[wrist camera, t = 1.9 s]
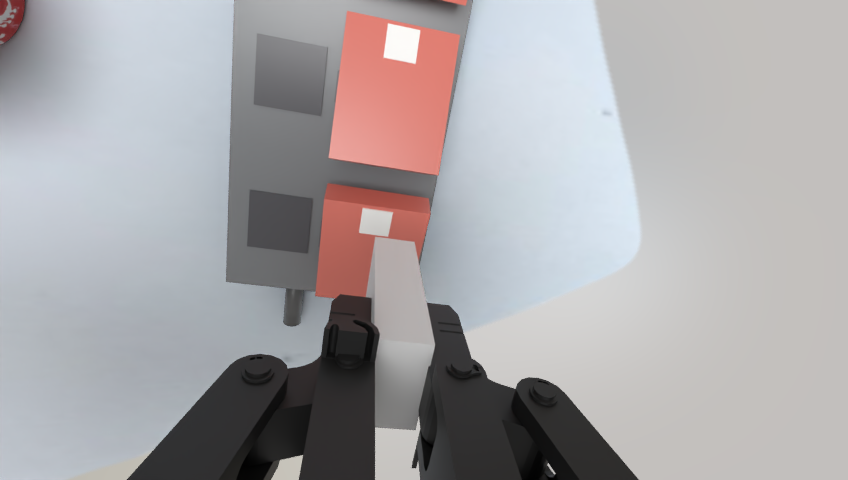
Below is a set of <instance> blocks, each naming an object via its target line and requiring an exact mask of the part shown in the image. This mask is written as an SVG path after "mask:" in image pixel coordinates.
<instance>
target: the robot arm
mask: <svg viewBox="0 0 848 480" xmlns="http://www.w3.org/2000/svg"><path fill="white" fill-rule="evenodd" d="M418 417H419V419H420V428H421V429H420V433H419V437H418V441H417V445H416V450H415V454H414V458H413V464H412V468H416V466H417V462H418V461H419V471H420V480H638V479H637V477H636V476H635V475H634V474H633V472H632V471H631V470H630V469H629V468H628V467H627V466H626V465H625V463H624V462H623V461H622V460H621V458H620V457H619V456H618V455H617V454H616V453H615V452H614V450H613V449H612V448H611V447H610V446H609V444H608V443H607V442H606V441H605V440H604V439H603V437H602V436H601V435H600V434H599V433H598V432H597V430H596V429H595V428H594V427H593V426H592V425H591V423H590V422H589V421H588V420H587V419H586V417H585V416H584V415H583V414H582V413H581V412H580V410H579V409H578V408H577V407H576V406H575V405H574V404H573V402H572V401H571V400H570V399H569V397H568V396H567V395H566V394H565V393H564V392H563V391H562V390H561V389H560V388H559V387H557V386H556V385H554V384H552V383H550V382H549V381H546V380H543V379H539V378H525V379H522V380H521V381H520V382H519V383H518V384H517V387H516V389H514V388H510V387H507V386H504V385H501V384H498V383H495V382H493V381H491V380H489V379H488V378H487V375H486V372H485V370H484V369H483V367H482V366H481V365H480V364H479V363H478V362H476V361H475V360H473V359H471V355H470V352H469V349H468V346H467V343H466V339H465V336H464V334H463V330H462V326H461V323H460V320H459V317H458V314H457V313H456V312H455V311H454V310H453V309H452V308H451V307H450V306H449V305H440V304H432V303H427V302H426V297H425V292H424V287H423V282H422V277H421V272H420V267H419V262H418V257H417V252H416V247H415V242H411V241H404V240H397V239H389V238H382V237H375V241H374V248H373V254H372V260H371V267H370V273H369V279H368V286H367V292H366V297H361V296H352V295H343V294H340V295H339V296H338V297H337V298H336V299H334V300H333V301H332V305H331V310H330V316H329V321H328V323H327V325H326V327H325V329H324V336H323V344H322V352H321V356H320V357H319V358H318V359H317V360H315V361H314V362H312V363H310V364H308V365H305V366H301V367H297V368H289V369H287V365H286V364H285V363H284V362H283V361H282V360H281V359H279V358H276V357H274V356H271V355H263V354H257V355H248V356H246V357H243V358H240V359H238V360H236V361H235V362H234V363H232V364H231V365H230V366H229V367H228V368H227V369H226V370H225V371H224V372H223V374H222V375H221V376H220V377H219V378H218V379H217V380H216V381H215V382H214V384H213V385H212V386H211V387H210V388H209V389H208V390H207V391H206V392H205V394H204V395H203V396H202V397H201V398H200V399H199V400H198V401H197V402H196V404H195V405H194V406H193V407H192V408H191V409H190V410H189V411H188V412H187V414H186V415H185V416H184V417H183V418H182V419H181V420H180V421H179V422H178V424H177V425H176V426H175V427H174V428H173V429H172V430H171V431H170V432H169V434H168V435H167V436H166V437H165V438H164V439H163V440H162V441H161V442H160V444H159V445H158V446H157V447H156V448H155V449H154V450H153V451H152V452H151V454H150V455H149V456H148V457H147V458H146V459H145V460H144V461H143V463H142V464H141V465H140V466H139V467H138V468H137V469H136V470H135V472H134V473H133V474H132V475H131V476H130V477H129V478H128V479H127V480H271V478H272V477H273V475H274V473H275V471H276V469H277V467H278V464H279V461H280V460H281V459H286V458H291V457H295V456H300V455H303V460H302V465H301V471H300V477H299V480H375V427H380V428H394V429H409V430H416V425H417V421H418ZM548 463H549V464H550V466H551V467H552V469H553V470H554V472H555V473H556V474H555V475H554V474H553V472H551V470H550V469H549V467H548V466H547V464H548Z"/></svg>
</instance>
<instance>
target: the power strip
mask: <svg viewBox="0 0 848 480" xmlns="http://www.w3.org/2000/svg"><path fill="white" fill-rule="evenodd" d="M472 3H473V0H467V3H466V6H465V5H461V4H456V3H452V2H447V1H443V0H234V23H233V58H232V93H231V128H230V163H229V198H228V234H227V269H226V282H233V283H242V284H251V285H260V286H270V287H279V288H286V295H285V307H284V319H283V323H284V324H285V325H287V326H297V325H299V324H300V321H301V311H302V301H303V291H304V290H307V291H316V283H317V272H318V261H319V250H320V239H321V228H322V216H323V205H324V197H325V193H326V188H327V184H328V183H330V184H337V185H344V186H350V187H357V188H364V189H370V190H377V191H384V192H391V193H397V194H404V195H411V196H417V197H424V198H429V205H430V211H431V206H432V201H433V196H434V191H435V186H436V181H437V176H438V175H428V174H421V173H415V172H409V171H402V170H396V169H390V168H383V167H377V166H371V165H364V164H358V163H352V162H345V161H339V160H333V159H329V151H330V143H331V135H332V127H333V119H334V111H335V103H336V95H337V87H338V79H339V71H340V63H341V55H342V47H343V39H344V31H345V23H346V15H347V11H351V12H355V13H360V14H365V15H369V16H374V17H379V18H383V19H388V20H393V21H397V22H402V23H407V24H411V25H416V26H421V27H425V28H430V29H434V30H439V31H444V32H448V33H453V34H458V35H460V39H459V45H458V52H457V58H456V65H455V71H454V78H453V84H452V91H451V97H450V104H449V110H448V117H447V123H446V130H445V136H444V141H445V137H446V132H447V127H448V122H449V117H450V112H451V107H452V102H453V97H454V92H455V87H456V82H457V77H458V72H459V67H460V62H461V57H462V52H463V47H464V42H465V37H466V33H467V28H468V23H469V18H470V13H471V8H472ZM443 146H444V143H443ZM442 151H443V149H442ZM426 231H427V230H426ZM425 236H426V234H425ZM424 241H425V238H424ZM424 241H423V245H424ZM423 245H422V249H421V253H420V257H419V260H418V262H419V265H420V260H421V255H422V250H423Z"/></svg>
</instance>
